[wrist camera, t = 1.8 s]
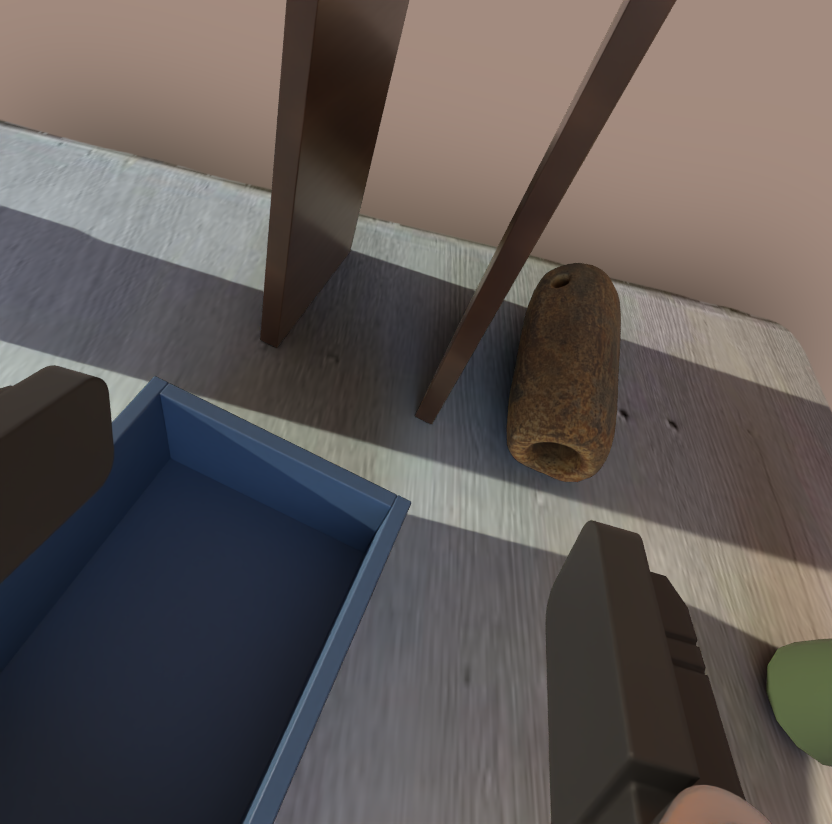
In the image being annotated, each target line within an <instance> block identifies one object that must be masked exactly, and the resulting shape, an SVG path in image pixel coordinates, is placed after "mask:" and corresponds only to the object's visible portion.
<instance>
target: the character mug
mask: <svg viewBox="0 0 832 824" xmlns="http://www.w3.org/2000/svg"><path fill="white" fill-rule="evenodd" d="M766 692H767V695H768V698H769V701H770V704H771V706H772V709H773V712H774V715H775V717H776V720H777V721H778V723H779V724H780V725H781V727H782V728H783V729H784V730H785V732H786V733H787V734H788V735H789V737H790V738H791V739H792V741H793V742H794V743H795V744H796V746H797V747H799V748H800V749H801V750H803V751H804V752H806V753H807V754H808V755H810V756H811V757H813V758H814V759H816V760H817V761H818V762H820V763H821V764H823V765H827V766H832V639H819V640H811V641H802V642H794V643H791V644H789V645H786V646H783V647H781V648H778V649H777V651H776V653H775V654H774V656H773V657H772V659H771V661H770V662H769V664H768V666H767V683H766Z"/></svg>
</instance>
